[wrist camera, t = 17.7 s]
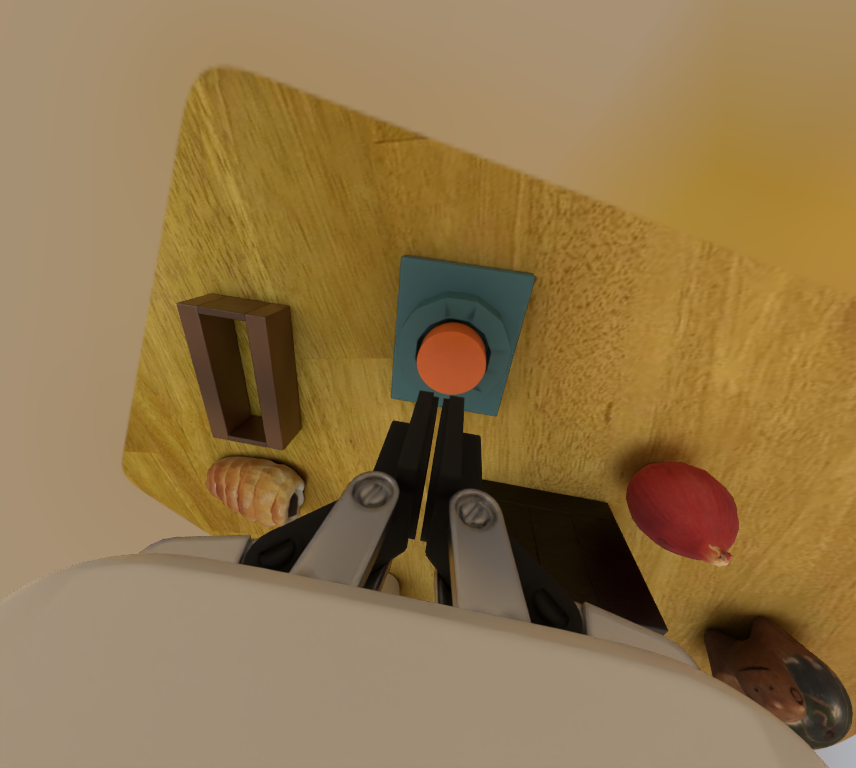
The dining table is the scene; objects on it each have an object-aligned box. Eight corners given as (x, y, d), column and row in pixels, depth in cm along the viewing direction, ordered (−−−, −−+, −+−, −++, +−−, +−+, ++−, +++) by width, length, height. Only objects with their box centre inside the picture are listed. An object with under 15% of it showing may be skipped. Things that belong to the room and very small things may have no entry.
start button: (424, 317, 18) (420, 325, 17) (491, 327, 18) (493, 337, 17) (418, 376, 20) (413, 388, 19) (478, 386, 20) (478, 400, 18)
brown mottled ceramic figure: (753, 587, 29) (852, 705, 22) (816, 643, 33) (916, 757, 26) (657, 623, 33) (715, 733, 26) (725, 669, 37) (791, 775, 30)
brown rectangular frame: (210, 293, 22) (175, 302, 20) (289, 305, 22) (264, 317, 19) (237, 416, 27) (212, 437, 25) (301, 428, 27) (283, 450, 24)
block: (404, 254, 19) (394, 259, 17) (532, 273, 19) (542, 281, 16) (394, 390, 24) (384, 411, 21) (495, 408, 24) (498, 431, 21)
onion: (681, 494, 25) (761, 600, 18) (605, 493, 26) (654, 593, 19) (701, 437, 23) (804, 535, 16) (616, 439, 23) (677, 531, 16)
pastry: (221, 488, 32) (192, 519, 29) (214, 440, 29) (181, 467, 26) (306, 511, 32) (287, 544, 29) (309, 465, 29) (287, 496, 26)
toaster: (481, 479, 27) (485, 593, 19) (607, 502, 27) (669, 630, 18) (454, 575, 34) (448, 687, 26) (552, 595, 34) (578, 717, 25)
